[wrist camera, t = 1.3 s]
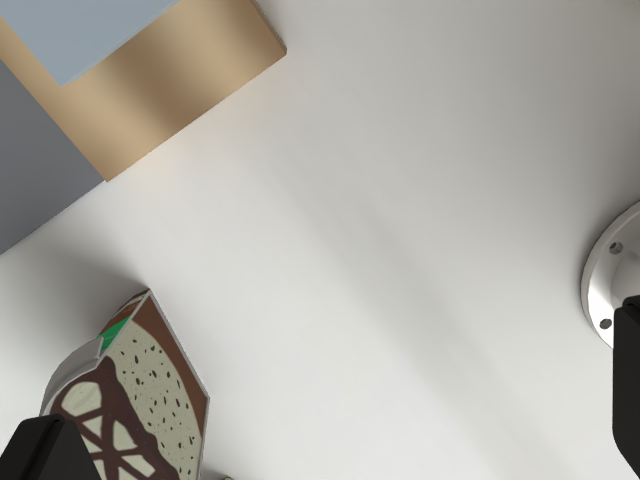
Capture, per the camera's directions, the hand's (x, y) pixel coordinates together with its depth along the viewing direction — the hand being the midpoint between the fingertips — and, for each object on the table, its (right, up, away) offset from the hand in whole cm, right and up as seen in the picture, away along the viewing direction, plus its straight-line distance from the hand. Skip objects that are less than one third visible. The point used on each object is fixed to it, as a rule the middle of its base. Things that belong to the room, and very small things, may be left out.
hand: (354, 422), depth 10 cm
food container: (-13, -5, +31) cm, 34 cm away
